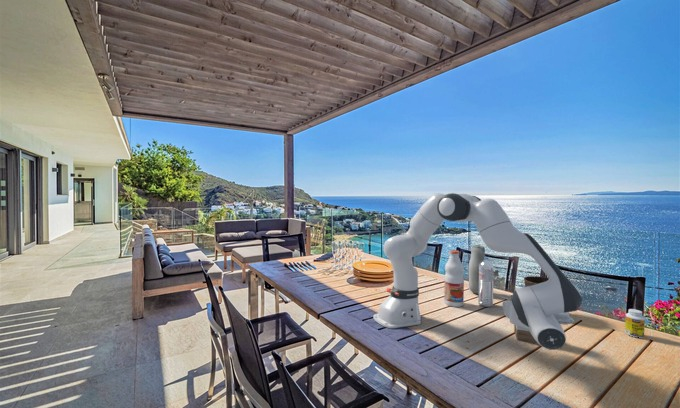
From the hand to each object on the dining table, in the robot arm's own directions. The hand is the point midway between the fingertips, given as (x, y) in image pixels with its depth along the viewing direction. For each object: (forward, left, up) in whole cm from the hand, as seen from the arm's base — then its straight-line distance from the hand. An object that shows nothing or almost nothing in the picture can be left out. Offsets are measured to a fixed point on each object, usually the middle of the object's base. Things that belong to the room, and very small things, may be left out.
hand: (530, 304), depth 113 cm
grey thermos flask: (+31, +47, -15) cm, 58 cm away
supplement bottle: (+44, -16, -15) cm, 49 cm away
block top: (+4, +3, -11) cm, 12 cm away
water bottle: (+19, +33, -15) cm, 41 cm away
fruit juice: (+6, +42, -15) cm, 45 cm away
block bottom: (+3, +3, -15) cm, 16 cm away
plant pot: (+34, +14, -15) cm, 40 cm away
